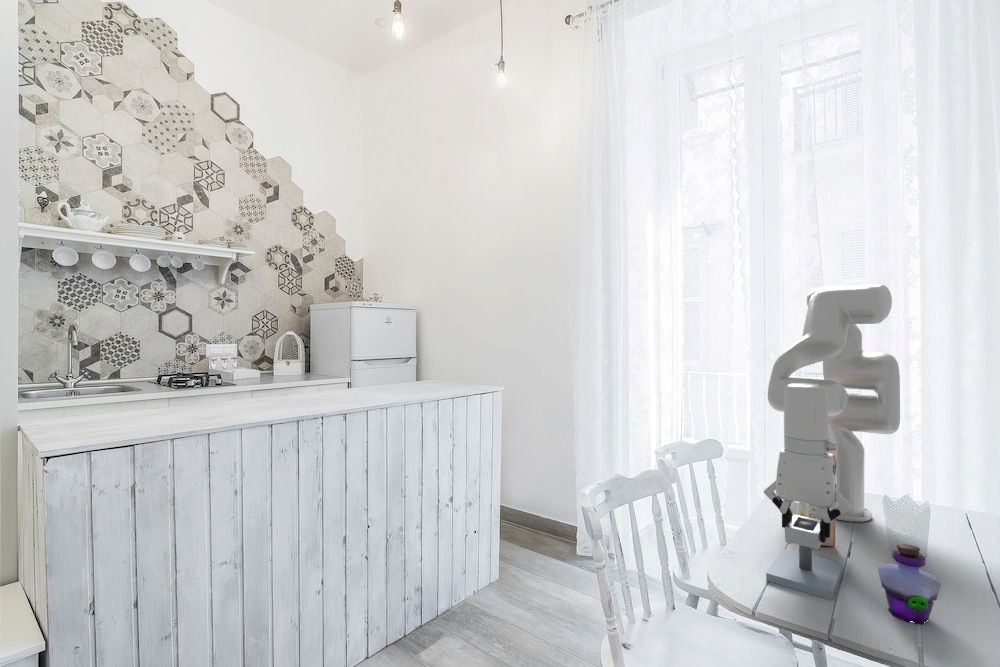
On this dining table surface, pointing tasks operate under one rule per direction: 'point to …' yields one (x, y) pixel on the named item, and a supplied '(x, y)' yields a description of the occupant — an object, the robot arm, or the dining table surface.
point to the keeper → (806, 571)
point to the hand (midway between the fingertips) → (805, 534)
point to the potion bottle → (909, 585)
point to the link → (803, 532)
